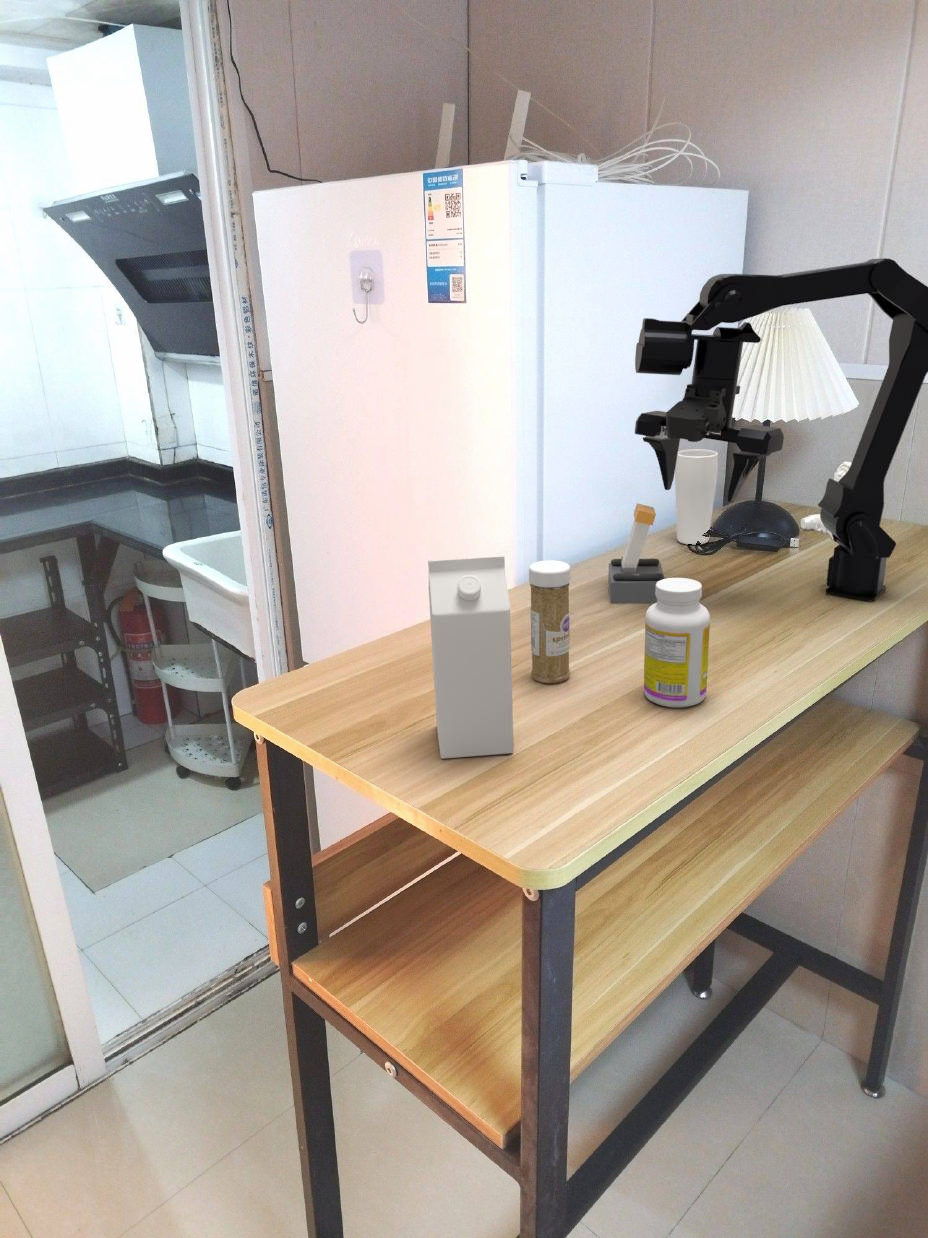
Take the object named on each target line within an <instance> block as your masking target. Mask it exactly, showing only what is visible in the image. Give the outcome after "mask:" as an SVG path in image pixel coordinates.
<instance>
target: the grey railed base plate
mask: <svg viewBox="0 0 928 1238" xmlns="http://www.w3.org/2000/svg"><path fill="white" fill-rule="evenodd" d="M622 559H623V556H621V557H620V558H612V559H611V560H610V562H609V563H608V576H607V577H608V584H607V585H608V590H609V599H610V600H609V601H610V604H655V603H657V600H658V599H657V598H656V595H655V591H656V583H657V582H658V581H660V580H663V579H666V577H665V573H664V570H663V567H662V564H661V563H660V559H658V558H639V561H638V564H637V568H636V571H635V566H623V569H622V563H621V562H622Z"/></svg>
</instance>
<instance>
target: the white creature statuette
mask: <svg viewBox="0 0 928 1238" xmlns="http://www.w3.org/2000/svg"><path fill="white" fill-rule="evenodd" d="M851 464H852V462H851V461H843V462H842V463H841V464H840V465H838V467H837V468H836V472H834V473H833V474H834V476H833V480H835V481H839V480H840V479H841V478H842V477H843V476H844V475H845V474H846V473H847V471H848V470H849V468H850V466H851ZM800 528H802V530H805V531H806V530H807V531H813V530H814V531H817V532H820V533H822V534H825V533H827V535H829V536H830V538H831V539H832V540H833V537H832V533H831V532H830V531H829V530H828V529H826V528H825V527H824V525H823V523H822V521H821V519H820V513H817V514H809V515H807V516H806V517H802V518H801V519H800ZM833 541H834V540H833Z"/></svg>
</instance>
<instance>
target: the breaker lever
mask: <svg viewBox="0 0 928 1238" xmlns="http://www.w3.org/2000/svg"><path fill="white" fill-rule="evenodd" d="M655 510H656V509H655V508H654V507H653V506H650V505H645V504H641V503H638V502H637V503H636V505H635V508H634V510H633V517H634V520H633V523H632V526H631V530H630V533H629V536H628V540H627V543H626V546H625V549H624V553H623V556H622V557H623V559H622V562H621V563H622V569H623V566H635V571H636V568H637V564H638V561H639V559H641V554H642V551H643V548H644V545H645V542H646V538H647V536H648V532H649V529H650V526H653V525H654V521H655V519H656V515H657V514H656V511H655Z"/></svg>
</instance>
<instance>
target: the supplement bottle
mask: <svg viewBox="0 0 928 1238" xmlns="http://www.w3.org/2000/svg"><path fill="white" fill-rule="evenodd" d="M655 595H656V598H657V599H658V600H657V603H652V604H651V606H649V607H648V608H647V611H646V612H645V617H644V620H645V622H644V659H643V660H644V665H643V666H644V668H643V692H644V696H645V697H646V698H647V699H648V700H649V701H650V702H651V703H654V704H657V705H660V706H662V707H667V708H672V709H673V708H677V709H678V708H689V707H693V706H696V705H699V704H700V703H701V702H703V700H704V699H705V697H706V695H707V689H708V686H707V685H708V668H709V648H710V647H709V646H710V644H709V643H710V631H711V630H710V628H711V615H710V612H709V611H708V609H707V608H706V607H705V605H703V604H701V603H700V600H701V598H702V595H703V586H702V583H701V582H700V581H698V580H695V579H692V578H687V577H669V578H665V579H663V580H660V581H658V582H657V583H656V591H655Z"/></svg>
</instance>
